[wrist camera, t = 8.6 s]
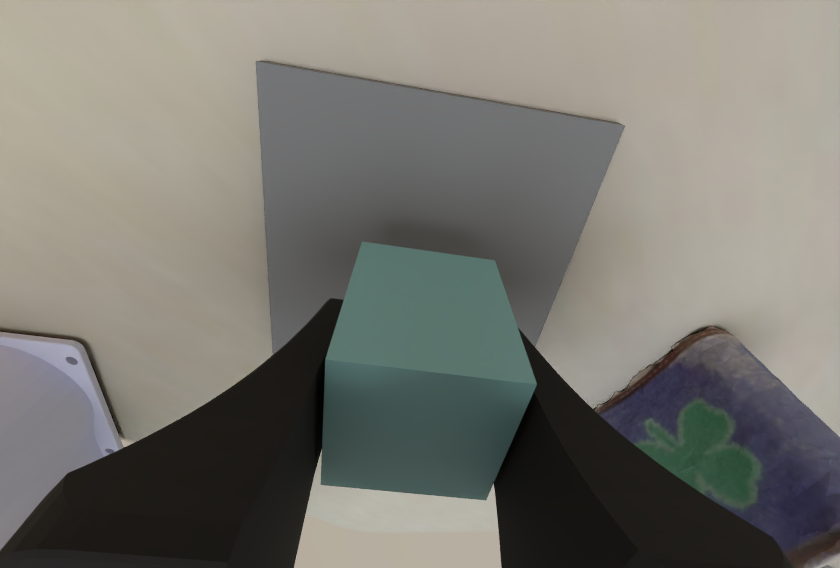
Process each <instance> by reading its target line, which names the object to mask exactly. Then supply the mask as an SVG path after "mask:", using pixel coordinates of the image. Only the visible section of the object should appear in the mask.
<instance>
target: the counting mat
mask: <svg viewBox="0 0 840 568" xmlns="http://www.w3.org/2000/svg"><path fill="white" fill-rule="evenodd" d="M256 73H257V91H258V108H259V125H260V142H261V160H262V177H263V194H264V211H265V229H266V246H267V263H268V280H269V298H270V315H271V332H272V349H273V353H276V352H277V351H278V350H279V349H280V348H282V347H283V346H284V345H285V344H286V343H287V342H288V341H289V340H290V339H291V338H292V337H293V336H295V335H296V334H297V333H298V332H299V331H300V330H301V329H302V328H303V327H304V326H305V325H306V324H307V323H308V322H309V320H310V319H311V318H312V317H313V316H314V315H315V314H316V313H317V312H318V311H319V310H320V308H321V307H322V306H323V305H324V304H325V302H326V301H327V300H329V299H330V298H335V299H342V300H344V298H345V295H346V291H347V288H348V285H349V282H350V278H351V275H352V272H353V269H354V266H355V262H356V259H357V256H358V253H359V249H360V246H361V243H362V242H369V243H376V244H383V245H390V246H397V247H404V248H411V249H418V250H425V251H432V252H439V253H446V254H453V255H460V256H467V257H474V258H482V259H489V260H495V262H496V265H497V268H498V271H499V274H500V277H501V280H502V283H503V286H504V289H505V291H506V294H507V297H508V300H509V303H510V306H511V309H512V312H513V315H514V318H515V321H516V324H517V327H518V328H519V329H520V330H521V331H522V332H523V334H524V335H525V336H526V337H527V338H528V340H529V341H530V342H531V343H532V344H533V346H534V347H535V346H536V343H537V341H538V338H539V336H540V333H541V331H542V328H543V326H544V323H545V321H546V319H547V316H548V314H549V311H550V309H551V306H552V304H553V301H554V299H555V296H556V294H557V291H558V289H559V287H560V284H561V282H562V279H563V277H564V274H565V272H566V269H567V267H568V264H569V262H570V260H571V257H572V255H573V252H574V250H575V247H576V245H577V242H578V240H579V237H580V235H581V233H582V230H583V228H584V225H585V223H586V220H587V218H588V215H589V213H590V210H591V208H592V206H593V203H594V201H595V198H596V196H597V193H598V191H599V188H600V186H601V183H602V181H603V178H604V176H605V174H606V171H607V169H608V166H609V164H610V161H611V159H612V156H613V154H614V151H615V149H616V147H617V144H618V142H619V139H620V137H621V134H622V132H623V129H624V127H625V126H624V125H622V124H619V123H616V122H611V121H605V120H599V119H593V118H588V117H582V116H576V115H570V114H565V113H559V112H553V111H548V110H542V109H536V108H530V107H525V106H519V105H513V104H507V103H502V102H496V101H490V100H485V99H479V98H473V97H467V96H462V95H456V94H450V93H444V92H439V91H433V90H427V89H422V88H416V87H410V86H404V85H399V84H393V83H387V82H381V81H376V80H370V79H364V78H359V77H353V76H347V75H341V74H336V73H330V72H324V71H318V70H313V69H307V68H301V67H296V66H290V65H284V64H278V63H273V62H267V61H256Z"/></svg>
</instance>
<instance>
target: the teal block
mask: <svg viewBox="0 0 840 568" xmlns="http://www.w3.org/2000/svg"><path fill="white" fill-rule="evenodd" d="M536 386H537V383H536V380H535V377H534V374H533V371H532V368H531V365H530V362H529V359H528V356H527V353H526V350H525V348H524V345H523V342H522V339H521V336H520V333H519V330H518V327H517V324H516V321H515V318H514V315H513V312H512V309H511V306H510V303H509V300H508V297H507V294H506V291H505V289H504V286H503V283H502V280H501V277H500V274H499V271H498V268H497V265H496V262H495V260H489V259H482V258H474V257H467V256H460V255H453V254H446V253H439V252H432V251H425V250H418V249H411V248H404V247H397V246H390V245H383V244H376V243H369V242H362V243H361V246H360V249H359V253H358V256H357V259H356V262H355V266H354V269H353V272H352V275H351V278H350V282H349V285H348V288H347V291H346V295H345V298H344V301H343V304H342V307H341V311H340V314H339V317H338V320H337V323H336V327H335V330H334V333H333V336H332V340H331V343H330V346H329V349H328V352H327V356H326V359H325V383H324V411H323V438H322V466H321V485H329V486H340V487H350V488H361V489H372V490H382V491H393V492H404V493H414V494H425V495H436V496H446V497H457V498H468V499H478V500H486V499H487V497H488V495H489V492H490V490H491V488H492V485H493V483H494V481H495V479H496V476H497V474H498V472H499V470H500V467H501V465H502V463H503V460H504V458H505V456H506V454H507V451H508V449H509V447H510V445H511V442H512V440H513V438H514V435H515V433H516V431H517V429H518V426H519V424H520V422H521V420H522V417H523V415H524V413H525V411H526V408H527V406H528V404H529V401H530V399H531V397H532V395H533V392H534V390H535V388H536Z"/></svg>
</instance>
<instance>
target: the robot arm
mask: <svg viewBox="0 0 840 568" xmlns="http://www.w3.org/2000/svg"><path fill="white" fill-rule="evenodd" d="M343 301H344V300H342V299H335V298H330V299H329V300H327V301H326V302H325V304H324V305H323V306H322V307H321V308H320V310H319V311H318V312H317V313H316V314H315V315H314V316H313V317H312V318H311V319H310V320H309V322H308V323H307V324H306V325H305V326H304V327H303V328H302V329H301V330H300V331H299V332H298V333H297V334H296V335H295V336H293V337H292V338H291V339H290V340H289V341H288V342H287V343H286V344H285V345H284V346H283V347H282V348H280V349H279V350H278V351H277V352H276V353H275V354H273V355H272V356H271V357H270V358H269V359H268V360H267V361H265V362H264V363H263V364H262V365H260V366H259V367H258V368H257V369H255V370H254V371H253V372H251V373H250V374H249V375H247V376H246V377H245V378H243V379H242V380H241V381H239V382H238V383H236V384H235V385H234V386H232V387H231V388H229V389H228V390H226V391H225V392H223V393H222V394H220V395H219V396H217V397H216V398H214V399H212V400H211V401H209V402H208V403H206V404H205V405H203V406H201V407H200V408H198V409H196V410H195V411H193V412H191V413H190V414H188V415H186V416H184V417H182V418H181V419H179V420H177V421H175V422H173V423H172V424H170V425H168V426H166V427H164V428H162V429H161V430H159V431H157V432H155V433H153V434H151V435H149V436H147V437H145V438H143V439H141V440H139V441H137V442H135V443H133V444H131V445H129V446H127V447H123V445H122V442H121V440H120V437H119V435H118V432H117V429H116V427H115V424H114V422H113V419H112V417H111V414H110V412H109V409H108V406H107V404H106V401H105V399H104V396H103V394H102V391H101V389H100V386H99V383H98V381H97V378H96V376H95V373H94V371H93V368H92V366H91V363H90V360H89V358H88V355H87V353H86V350H85V348H84V346H83V345H82V344H80V343H79V342H77V341H73V340H66V339H58V338H49V337H40V336H32V335H23V334H14V333H6V332H0V568H294V563H295V559H296V554H297V550H298V545H299V541H300V536H301V532H302V527H303V522H304V518H305V513H306V509H307V504H308V500H309V496H310V491H311V487H312V482H313V478H314V474H315V470H316V467H317V463H318V459H319V456H320V453H321V450H322V438H323V411H324V383H325V359H326V356H327V352H328V349H329V346H330V343H331V340H332V336H333V333H334V330H335V327H336V323H337V320H338V317H339V314H340V311H341V307H342V304H343ZM518 330H519V333H520V336H521V339H522V342H523V345H524V348H525V350H526V353H527V356H528V359H529V362H530V365H531V368H532V371H533V374H534V377H535V380H536V383H537V386H536V388H535V390H534V392H533V395H532V397H531V399H530V401H529V404H528V406H527V408H526V411H525V413H524V415H523V417H522V420H521V422H520V424H519V426H518V429H517V431H516V433H515V435H514V438H513V440H512V442H511V445H510V447H509V449H508V451H507V454H506V456H505V458H504V460H503V463H502V465H501V467H500V470H499V472H498V474H497V476H496V479H495V481H494V488H495V496H496V506H497V516H498V527H499V538H500V552H501V564H502V568H795V567H794V566H793V565H792V563H791V562H790V560H789V559H788V558H787V556H786V555H785V553H784V552H783V550H782V549H781V548H780V546H779V545H778V543H777V542H776V541H775V539H774V538H773V537H772V536H770V535H768V534H767V533H765V532H763V531H762V530H760V529H759V528H757V527H755V526H754V525H752V524H750V523H749V522H747V521H745V520H744V519H742V518H740V517H739V516H737V515H736V514H734V513H732V512H731V511H729V510H727V509H726V508H724V507H722V506H721V505H719V504H717V503H716V502H714V501H713V500H711V499H710V498H708V497H706V496H705V495H703V494H702V493H701V492H699V491H698V490H696V489H695V488H693V487H692V486H690V485H689V484H687V483H686V482H684V481H683V480H681V479H680V478H678V477H677V476H675V475H674V474H673V473H671V472H670V471H669V470H667V469H666V468H664V467H663V466H662V465H660V464H659V463H657V462H656V461H655V460H653V459H652V458H651V457H650V456H648V455H647V454H646V453H644V452H643V451H642V450H641V449H639V448H638V447H637V446H635V445H634V444H633V443H631V442H630V441H629V440H628V439H627V438H625V437H624V436H623V435H622V434H620V433H619V432H618V431H617V430H616V429H615V428H613V427H612V426H611V425H610V424H609V423H608V422H607V421H605V420H604V419H603V418H602V417H601V416H600V415H599V414H598V413H596V412H595V411H594V410H593V409H592V408H591V407H590V406H589V405H588V404H587V403H586V402H585V401H584V400H583V399H582V398H581V397H580V396H579V395H578V394H577V393H576V392H575V391H574V390H573V389H572V388H571V387H570V386H569V385H568V384H567V383H566V382H565V381H564V380H563V379H562V378H561V377H560V375H559V374H558V373H557V372H556V371H555V370H554V369H553V368H552V367H551V365H550V364H549V363H548V362H547V361H546V360H545V359H544V357H543V356H542V355H541V354H540V353H539V352H538V350H537V349H536V348H535V347H534V346H533V344H532V343H531V342H530V341H529V340H528V338H527V337H526V336H525V335H524V334H523V332H522V331H521V330H520V329H519V328H518Z"/></svg>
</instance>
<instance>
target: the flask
mask: <svg viewBox="0 0 840 568" xmlns="http://www.w3.org/2000/svg"><path fill="white" fill-rule="evenodd" d="M671 348H672V349H674V350H673V352H670V353H669V354H668V355H666V356H664V357H663V358H662V359H660V361H657V362H655V364H653V365H649V366H648V367H647V368H646V369H644V370H643V371H639V373H638V375H637V376H635V377H633V379H632V380H631V383H630V384H629V386H628V387H627V389H625V390H624V391H622V392H621V393H620V392H615V394H614V395H613V397H612V398H611V400H609V401H608V402H607V403H604V404H602V405H597V406H598V407H597V408H596V409H595V410H594V411H595V412H596V413H598V414H599V415H600V416H601V417H602V418H603V419H604V420H605V421H607V422H608V423H609V424H610V425H611V426H612V427H613V428H615V429H616V430H617V431H618V432H619V433H620V434H622V435H623V436H624V437H625V438H627V439H628V440H629V441H630V442H631V443H633V444H634V445H635V446H637V447H638V448H639V449H641V450H642V451H643V452H644V453H646V454H647V455H648V456H650V457H651V458H652V459H653V460H655V461H656V462H657V463H659V464H660V465H662V466H663V467H664V468H666V469H667V470H669V471H670V472H671V473H673V474H674V475H675V476H677V477H678V478H680V479H681V480H683V481H684V482H686V483H687V484H689V485H690V486H692V487H693V488H695V489H696V490H698V491H699V492H701V493H702V494H703V495H705V496H706V497H708V498H710V499H711V500H713V501H714V502H716V503H717V504H719V505H721V506H722V507H724V508H726V509H727V510H729V511H731V512H732V513H734V514H736V515H737V516H739V517H740V518H742V519H744V520H745V521H747V522H749V523H750V524H752V525H754V526H755V527H757V528H759V529H760V530H762V531H763V532H765V533H767V534H768V535H770V536H772V537H773V538H774V539H775V541H776V542H777V543H778V545H779V546H780V548H781V549H782V550H783V552H784V553H785V555H786V556H787V558H788V559H789V560H790V562H791V563H792V565H793V566H794V567H795V568H840V437H839V436H838V435H837V434H836V433H835V432H834V431H832V430H831V429H830V428H829V427H828V426H827V425H826V424H825V423H824V422H823V421H822V420H821V419H820V418H818V417H817V416H816V415H815V414H814V413H813V412H812V411H811V410H810V409H809V408H808V407H807V406H806V405H805V404H804V403H802V402H801V401H800V400H799V399H798V398H797V397H796V396H795V395H794V394H793V393H792V392H791V391H790V390H789V389H788V388H787V387H786V386H785V385H784V384H783V383H782V382H781V381H780V380H779V379H778V378H777V377H776V376H774V375H773V374H772V373H771V372H770V371H769V370H768V369H767V368H766V367H765V366H764V365H763V364H762V363H761V362H760V361H759V360H758V359H757V358H756V357H755V356H754V355H753V354H752V353H751V352H749V351H748V350H747V349H746V348H745V347H744V346H743V345H742V344H741V343H740V342H739V341H738V340H737V339H736V338H735V337H734V336H733V335H732V334H730V333H728V332H726V331H724V330H721V329H717V328H715V327H712V326H710V327H708V328H706V330H704V331H701V332H698V333H697V334H694V335H693V334H692V335H690V336H688V337H686V338H685V339H684V340H681V341H680V342H678V343H676V344H675V345H673V346H672V347H671Z"/></svg>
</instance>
